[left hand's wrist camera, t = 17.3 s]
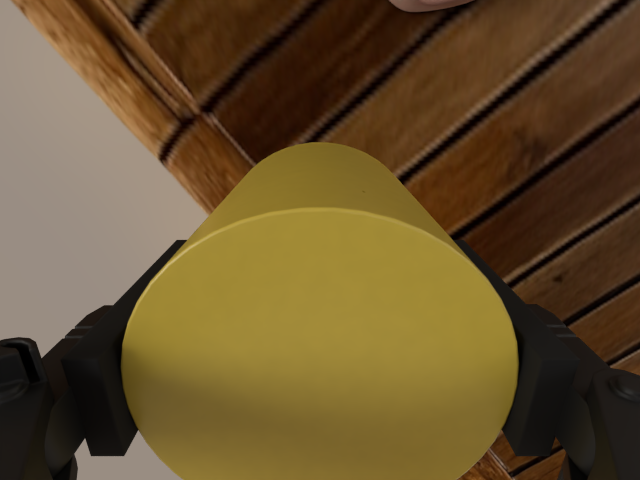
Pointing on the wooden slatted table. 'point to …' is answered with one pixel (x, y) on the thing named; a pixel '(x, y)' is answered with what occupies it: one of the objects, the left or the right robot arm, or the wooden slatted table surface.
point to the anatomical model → (426, 4)
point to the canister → (319, 334)
